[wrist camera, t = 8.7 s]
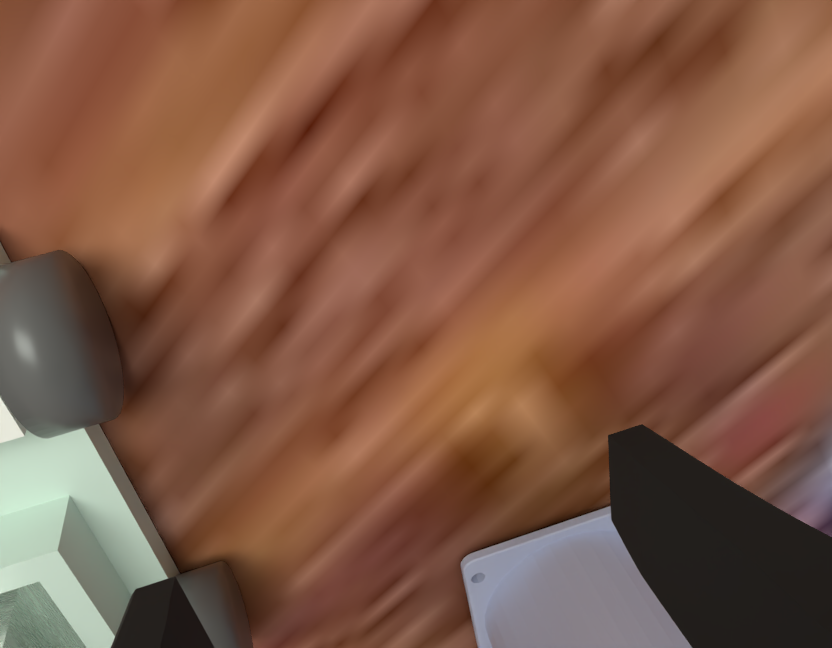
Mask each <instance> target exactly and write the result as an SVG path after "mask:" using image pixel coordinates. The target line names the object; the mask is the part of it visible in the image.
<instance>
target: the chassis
mask: <svg viewBox="0 0 832 648" xmlns="http://www.w3.org/2000/svg"><path fill="white" fill-rule="evenodd" d="M123 398H124V384H123V373H122V366H121V361H120V356H119V351H118V347H117V343H116V340H115V336H114V333H113V330H112V327H111V324H110V321H109V318H108V315H107V313H106V310H105V308H104V306H103V303H102V301H101V299H100V297H99V295H98V293H97V291H96V289H95V287H94V285H93V283H92V281H91V280H90V278H89V276H88V275H87V273H86V272H85V270H84V269H83V268H82V266H81V265H80V264H79V263H78V261H77V260H76V259H75V258H74V257H73V256H72V255H70V254H69V253H67V252H65V251H63V250H57V251H53V252H49V253H46V254H42V255H38V256H34V257H30V258H26V259H23V260H19V261H15V262H11V261H10V259H9V258H8V256H7V254H6V252H5V250H4V248H3V247H2V245H1V243H0V594H1V593H4V592H7V591H11V590H14V589H17V588H20V587H23V586H26V585H29V584H33V583H36V582H40V583H41V584H42V586H43V587H44V589H45V590H46V591H47V593H48V594H49V596H50V597H51V598H52V600H53V601H54V603H55V604H56V605H57V607H58V608H59V610H60V611H61V612H62V614H63V615H64V617H65V618H66V619H67V621H68V622H69V624H70V625H71V626H72V628H73V629H74V631H75V632H76V633H77V635H78V636H79V638H80V639H81V640H82V642H83V643H84V645H85V646H86V647H87V648H111V646H112V643H113V641H114V638H115V636H116V633H117V631H118V628H119V626H120V623H121V621H122V618H123V615H124V613H125V610H126V608H127V605H128V603H129V600H130V597H131V595H132V594H133V592H134V591H135V589H137V588H140V587H144V586H147V585H150V584H153V583H156V582H159V581H162V580H165V579H168V578H171V577H174V576H175V577H176V578H177V580H178V582H179V584H180V586H181V587H182V589H183V591H184V593H185V595H186V597H187V598H188V600H189V602H190V604H191V606H192V607H193V609H194V611H195V613H196V615H197V617H198V618H199V620H200V622H201V624H202V626H203V627H204V629H205V631H206V633H207V635H208V637H209V638H210V640H211V642H212V644H213V646H214V647H215V648H253V642H252V636H251V631H250V626H249V621H248V617H247V613H246V609H245V606H244V602H243V599H242V596H241V593H240V590H239V587H238V585H237V582H236V580H235V577H234V575H233V573H232V571H231V570H230V568H229V566H228V565H227V564H226V563H225V562H224V561H219V562H216V563H213V564H210V565H207V566H204V567H201V568H198V569H195V570H191V571H188V572H185V573H182V574H180V573H179V571H178V569H177V567H176V565H175V563H174V562H173V560H172V558H171V556H170V554H169V552H168V550H167V549H166V547H165V545H164V543H163V541H162V539H161V538H160V536H159V534H158V532H157V530H156V528H155V527H154V525H153V523H152V521H151V519H150V517H149V515H148V514H147V512H146V510H145V508H144V506H143V504H142V503H141V501H140V499H139V497H138V495H137V493H136V492H135V490H134V488H133V486H132V484H131V482H130V480H129V479H128V477H127V475H126V473H125V471H124V469H123V468H122V466H121V464H120V462H119V460H118V458H117V457H116V455H115V453H114V451H113V449H112V447H111V445H110V444H109V442H108V440H107V438H106V436H105V434H104V433H103V431H102V429H101V427H100V425H99V424H100V423H103V422H106V421H110V420H113V419H115V418H117V417H118V415H119V414H120V412H121V409H122V405H123Z"/></svg>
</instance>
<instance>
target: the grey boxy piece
mask: <svg viewBox="0 0 832 648" xmlns="http://www.w3.org/2000/svg"><path fill="white" fill-rule="evenodd" d="M0 648H87V647H86V646H85V645H84V643H83V642H82V640H81V639H80V638H79V636H78V635H77V633H76V632H75V631H74V629H73V628H72V626H71V625H70V624H69V622H68V621H67V619H66V618H65V617H64V615H63V614H62V612H61V611H60V610H59V608H58V607H57V605H56V604H55V603H54V601H53V600H52V598H51V597H50V596H49V594H48V593H47V591H46V590H45V589H44V587H43V586H42V584H41V583H40V582H36V583H33V584H29V585H26V586H23V587H20V588H17V589H14V590H11V591H7V592H4V593H1V594H0Z"/></svg>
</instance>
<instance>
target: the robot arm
mask: <svg viewBox="0 0 832 648" xmlns="http://www.w3.org/2000/svg"><path fill="white" fill-rule="evenodd" d="M608 443H609V471H610V500H611V506H609V507H606V508H603V509H600V510H597V511H594V512H591V513H588V514H585V515H582V516H579V517H576V518H573V519H570V520H567V521H564V522H562V523H559V524H556V525H553V526H550V527H547V528H544V529H541V530H538V531H535V532H532V533H529V534H526V535H523V536H520V537H517V538H514V539H511V540H508V541H505V542H503V543H500V544H497V545H494V546H491V547H488V548H485V549H482V550H479V551H476V552H473V553H470V554H468V555H467V556H466V557H464V558H463V560H462V562H461V571H462V576H463V581H464V585H465V590H466V595H467V599H468V604H469V609H470V614H471V618H472V623H473V628H474V632H475V637H476V642H477V647H478V648H832V537H830V536H828V535H826V534H824V533H822V532H820V531H819V530H817V529H815V528H813V527H811V526H809V525H807V524H805V523H804V522H802V521H800V520H798V519H796V518H794V517H793V516H791V515H789V514H787V513H785V512H784V511H782V510H780V509H778V508H777V507H775V506H773V505H771V504H770V503H768V502H766V501H765V500H763V499H761V498H759V497H758V496H756V495H754V494H753V493H751V492H749V491H748V490H746V489H744V488H743V487H741V486H739V485H737V484H736V483H734V482H732V481H731V480H729V479H728V478H726V477H724V476H723V475H721V474H719V473H718V472H716V471H715V470H713V469H711V468H710V467H708V466H707V465H705V464H704V463H702V462H700V461H699V460H697V459H696V458H694V457H693V456H691V455H689V454H688V453H686V452H685V451H683V450H682V449H680V448H678V447H677V446H675V445H674V444H672V443H671V442H669V441H668V440H666V439H665V438H663V437H661V436H660V435H658V434H657V433H655V432H654V431H652V430H650V429H649V428H647V427H645V426H644V425H638V426H635V427H632V428H629V429H626V430H623V431H620V432H617V433H614V434H611V435H608ZM111 648H215V647H214V646H213V644H212V642H211V640H210V638H209V637H208V635H207V633H206V631H205V629H204V627H203V626H202V624H201V622H200V620H199V618H198V617H197V615H196V613H195V611H194V609H193V607H192V606H191V604H190V602H189V600H188V598H187V597H186V595H185V593H184V591H183V589H182V587H181V586H180V584H179V582H178V580H177V578H176V577H175V576H174V577H171V578H168V579H165V580H162V581H159V582H156V583H153V584H150V585H147V586H144V587H140V588H137V589H135V591H134V592H133V594H132V595H131V597H130V600H129V603H128V605H127V608H126V610H125V613H124V615H123V618H122V621H121V623H120V626H119V628H118V631H117V633H116V636H115V638H114V641H113V643H112V646H111Z"/></svg>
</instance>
